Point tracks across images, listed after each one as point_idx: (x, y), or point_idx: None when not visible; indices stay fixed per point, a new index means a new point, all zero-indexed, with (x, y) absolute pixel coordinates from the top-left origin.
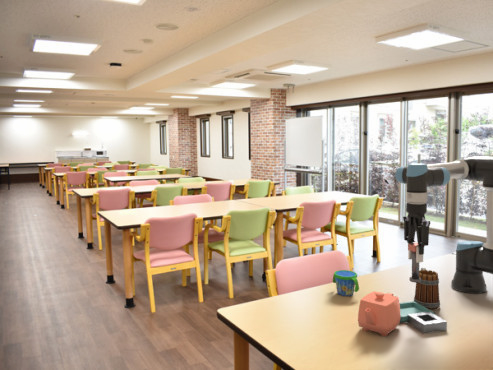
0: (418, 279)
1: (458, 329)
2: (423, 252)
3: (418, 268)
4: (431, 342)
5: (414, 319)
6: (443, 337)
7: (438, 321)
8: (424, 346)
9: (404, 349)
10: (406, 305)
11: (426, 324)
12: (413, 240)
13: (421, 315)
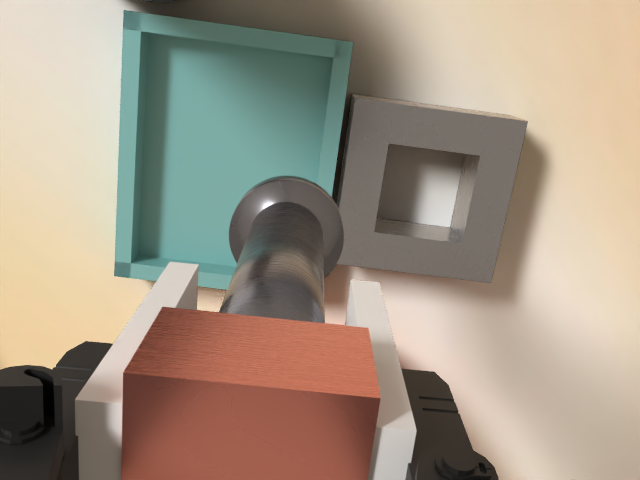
0: (326, 234)
1: (535, 34)
2: (449, 404)
3: (323, 275)
4: (564, 301)
5: (401, 270)
6: (559, 203)
7: (500, 170)
8: (574, 360)
9: (547, 455)
10: (143, 91)
11: (494, 267)
12: (58, 468)
13: (380, 192)
